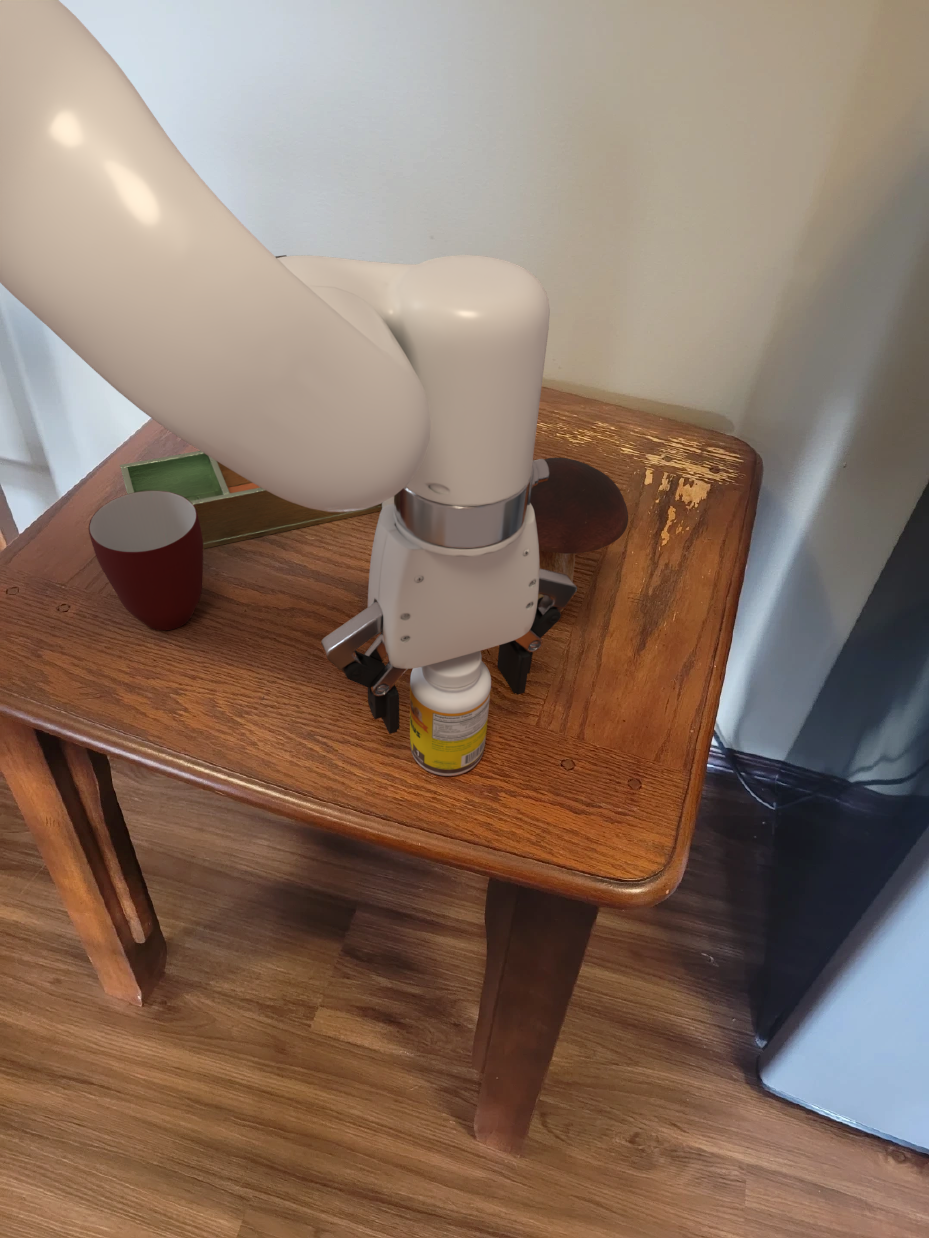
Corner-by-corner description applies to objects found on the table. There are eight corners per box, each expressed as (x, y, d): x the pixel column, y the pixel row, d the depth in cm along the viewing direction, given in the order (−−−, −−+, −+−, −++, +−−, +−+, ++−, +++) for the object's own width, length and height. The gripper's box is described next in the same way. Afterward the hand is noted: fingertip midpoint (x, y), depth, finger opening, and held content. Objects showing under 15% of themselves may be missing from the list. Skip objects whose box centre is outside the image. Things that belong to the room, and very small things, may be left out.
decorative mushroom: (474, 572, 78) (485, 429, 68) (590, 568, 79) (618, 426, 69) (492, 658, 70) (507, 510, 60) (620, 651, 72) (657, 505, 61)
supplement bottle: (412, 718, 65) (413, 621, 58) (484, 722, 65) (494, 627, 58) (406, 778, 61) (406, 682, 54) (483, 782, 61) (493, 687, 54)
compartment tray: (397, 507, 85) (396, 464, 81) (145, 561, 77) (133, 515, 74) (369, 463, 90) (367, 420, 87) (131, 509, 83) (119, 464, 79)
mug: (82, 602, 73) (48, 507, 66) (162, 559, 77) (138, 466, 70) (156, 663, 68) (128, 567, 61) (236, 613, 73) (219, 519, 66)
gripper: (564, 434, 53) (535, 632, 64) (290, 488, 47) (314, 695, 59) (628, 501, 48) (584, 702, 60) (331, 570, 42) (347, 777, 54)
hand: (450, 698), depth 59 cm, fingers open, 9 cm apart
